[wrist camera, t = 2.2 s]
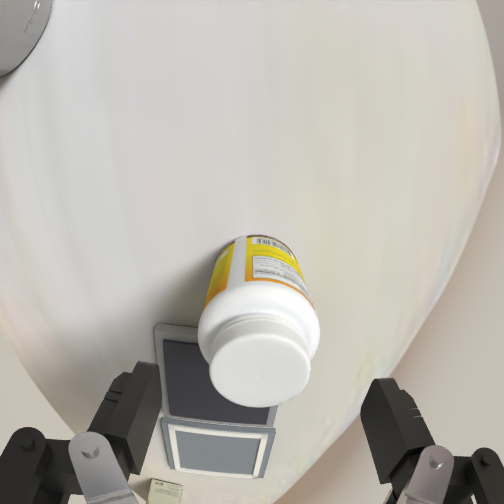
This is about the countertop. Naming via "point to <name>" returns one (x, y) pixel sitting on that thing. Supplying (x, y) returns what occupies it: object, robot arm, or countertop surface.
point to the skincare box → (164, 493)
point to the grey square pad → (217, 448)
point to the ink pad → (197, 383)
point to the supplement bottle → (258, 323)
